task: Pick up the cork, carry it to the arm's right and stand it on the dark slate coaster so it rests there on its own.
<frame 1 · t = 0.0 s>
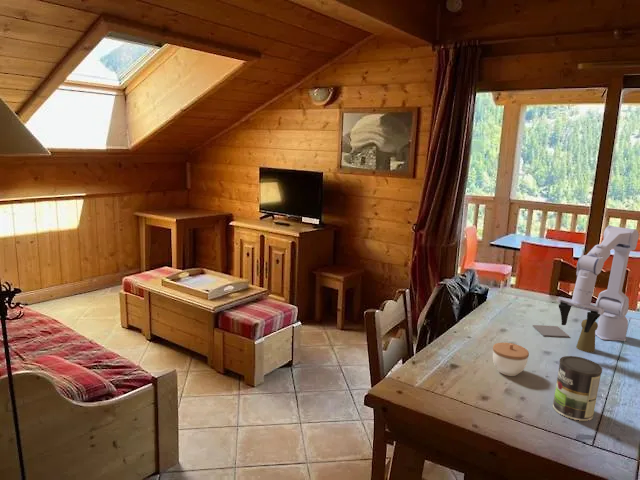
hand: (574, 328, 165), 11 cm above the table, tool pointing down, fingers open, 7 cm apart
coffee can: (572, 411, 133), on the table
lidded jar: (507, 372, 154), on the table
slate coaster: (550, 333, 189), on the table
cork: (585, 349, 175), on the table
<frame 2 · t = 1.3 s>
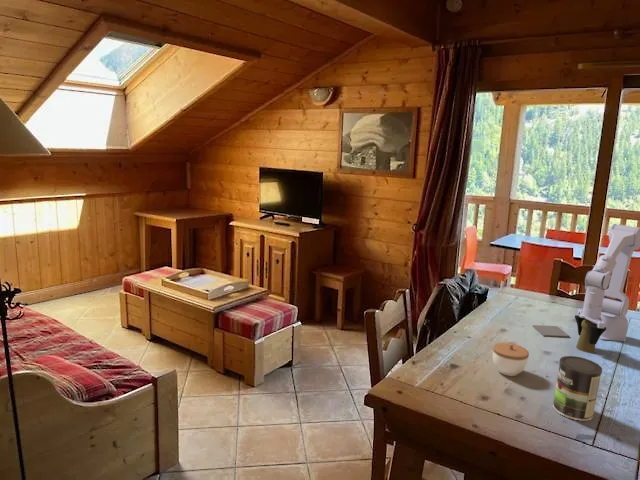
hand: (587, 339, 174), 4 cm above the table, tool pointing down, fingers open, 7 cm apart
nothing on the table moved.
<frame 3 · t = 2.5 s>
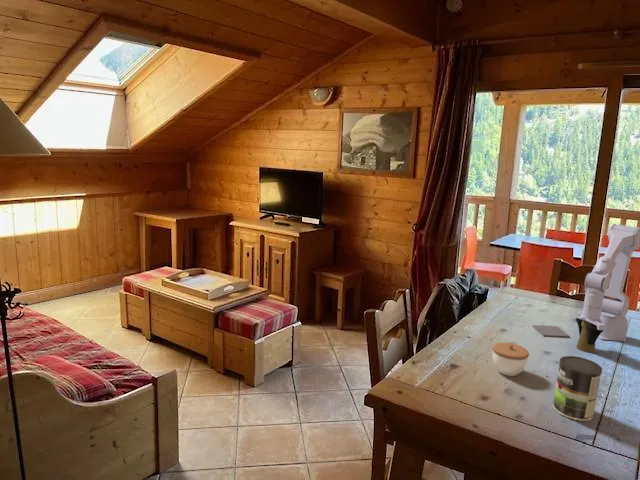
hand: (586, 341, 174), 3 cm above the table, tool pointing down, fingers closed on cork, 5 cm apart
cork: (585, 349, 175), on the table, touching gripper
everything else where it was.
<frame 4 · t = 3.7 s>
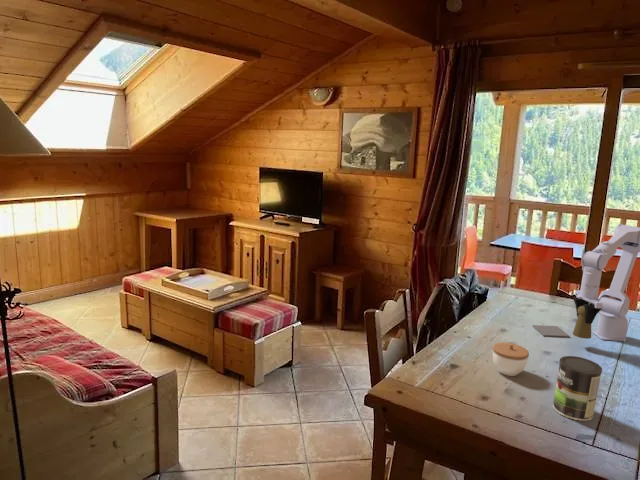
hand: (584, 320, 175), 10 cm above the table, tool pointing down, fingers closed on cork, 5 cm apart
cork: (581, 336, 176), point 4 cm above the table, touching gripper
everything else where it was.
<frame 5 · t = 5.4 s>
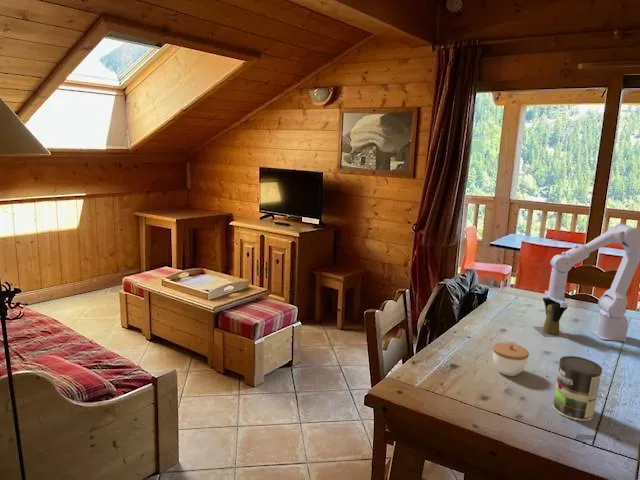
hand: (552, 318, 188), 6 cm above the table, tool pointing down, fingers closed on cork, 5 cm apart
slate coaster: (550, 334, 190), on the table, touching cork
cork: (550, 332, 189), on the table, touching gripper, slate coaster
everything else where it was.
when the fingers open (5 cm above the table, at t = 5.9 s): cork stays where it is, resting on slate coaster.
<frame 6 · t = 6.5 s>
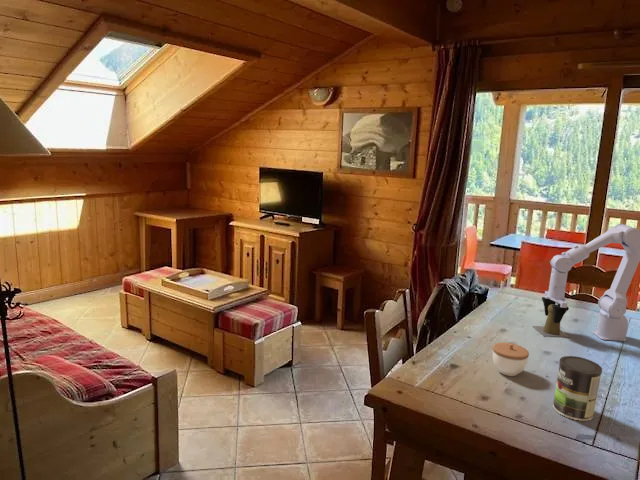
hand: (552, 319, 188), 5 cm above the table, tool pointing down, fingers open, 7 cm apart
cork: (551, 332, 189), resting on slate coaster
everything else where it was.
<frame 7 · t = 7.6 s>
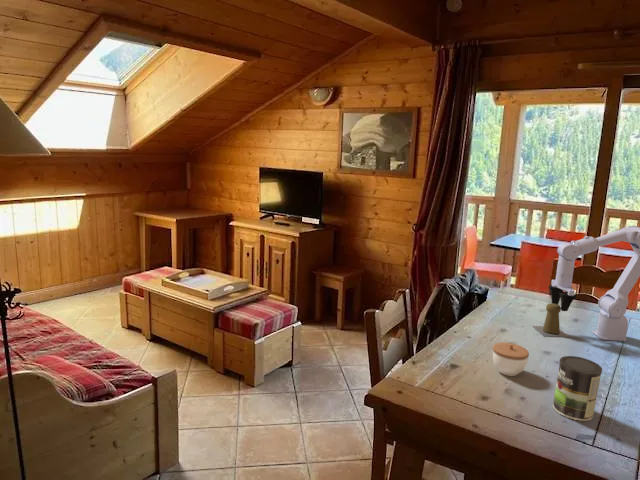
hand: (559, 307, 187), 10 cm above the table, tool pointing down, fingers open, 7 cm apart
nothing on the table moved.
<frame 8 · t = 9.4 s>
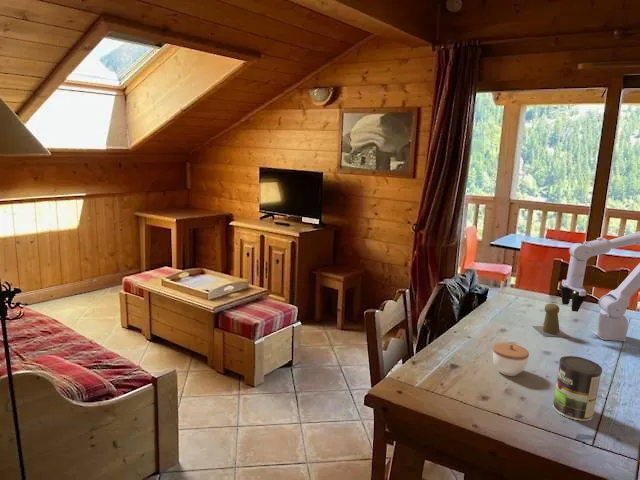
hand: (569, 307, 187), 10 cm above the table, tool pointing down, fingers open, 7 cm apart
slate coaster: (550, 333, 190), on the table
cork: (551, 330, 189), point 1 cm above the table
everything else where it was.
at the end: cork inside the target area on the slate coaster (0.3 cm from its centre), point 1.3 cm above the slate coaster's base; cork tilted 6°; the gripper is holding nothing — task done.
